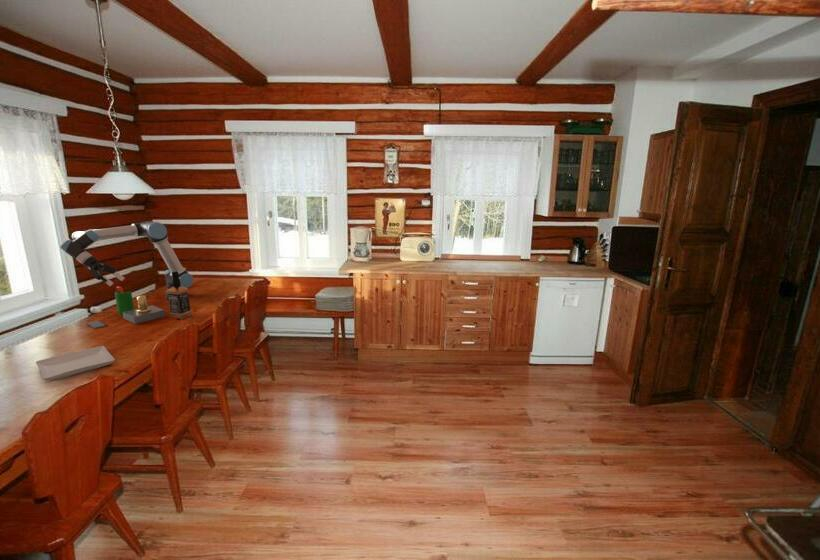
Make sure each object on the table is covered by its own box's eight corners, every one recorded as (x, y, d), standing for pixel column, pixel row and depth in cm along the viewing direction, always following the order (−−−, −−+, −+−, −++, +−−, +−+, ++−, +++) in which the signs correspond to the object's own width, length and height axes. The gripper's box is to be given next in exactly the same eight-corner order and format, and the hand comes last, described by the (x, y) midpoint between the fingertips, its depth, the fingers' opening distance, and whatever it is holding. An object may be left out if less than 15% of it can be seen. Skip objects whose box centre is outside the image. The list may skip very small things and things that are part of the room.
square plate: (117, 366, 195) (115, 359, 194) (43, 386, 176) (42, 378, 175) (104, 350, 213) (103, 344, 212) (36, 367, 193) (35, 360, 192)
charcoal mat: (112, 318, 262) (111, 317, 262) (120, 322, 254) (120, 321, 254) (86, 324, 251) (86, 323, 250) (94, 328, 243) (94, 327, 243)
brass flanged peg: (148, 314, 266) (145, 294, 262) (153, 317, 261) (150, 296, 258) (135, 317, 259) (131, 296, 256) (140, 320, 255) (137, 298, 251)
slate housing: (153, 313, 273) (152, 305, 271) (165, 318, 263) (164, 310, 261) (124, 320, 258) (122, 311, 257) (135, 326, 248) (134, 317, 247)
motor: (138, 311, 276) (133, 284, 271) (128, 315, 267) (123, 287, 262) (125, 311, 277) (120, 284, 272) (114, 315, 268) (109, 287, 263)
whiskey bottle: (169, 318, 262) (162, 272, 254) (181, 314, 271) (175, 269, 264) (181, 320, 259) (174, 274, 251) (193, 315, 268) (187, 270, 261)
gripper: (95, 260, 258) (123, 281, 264) (70, 268, 234) (102, 291, 240) (102, 252, 258) (131, 273, 264) (78, 259, 234) (110, 282, 240)
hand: (117, 282), depth 252 cm, fingers open, 13 cm apart
